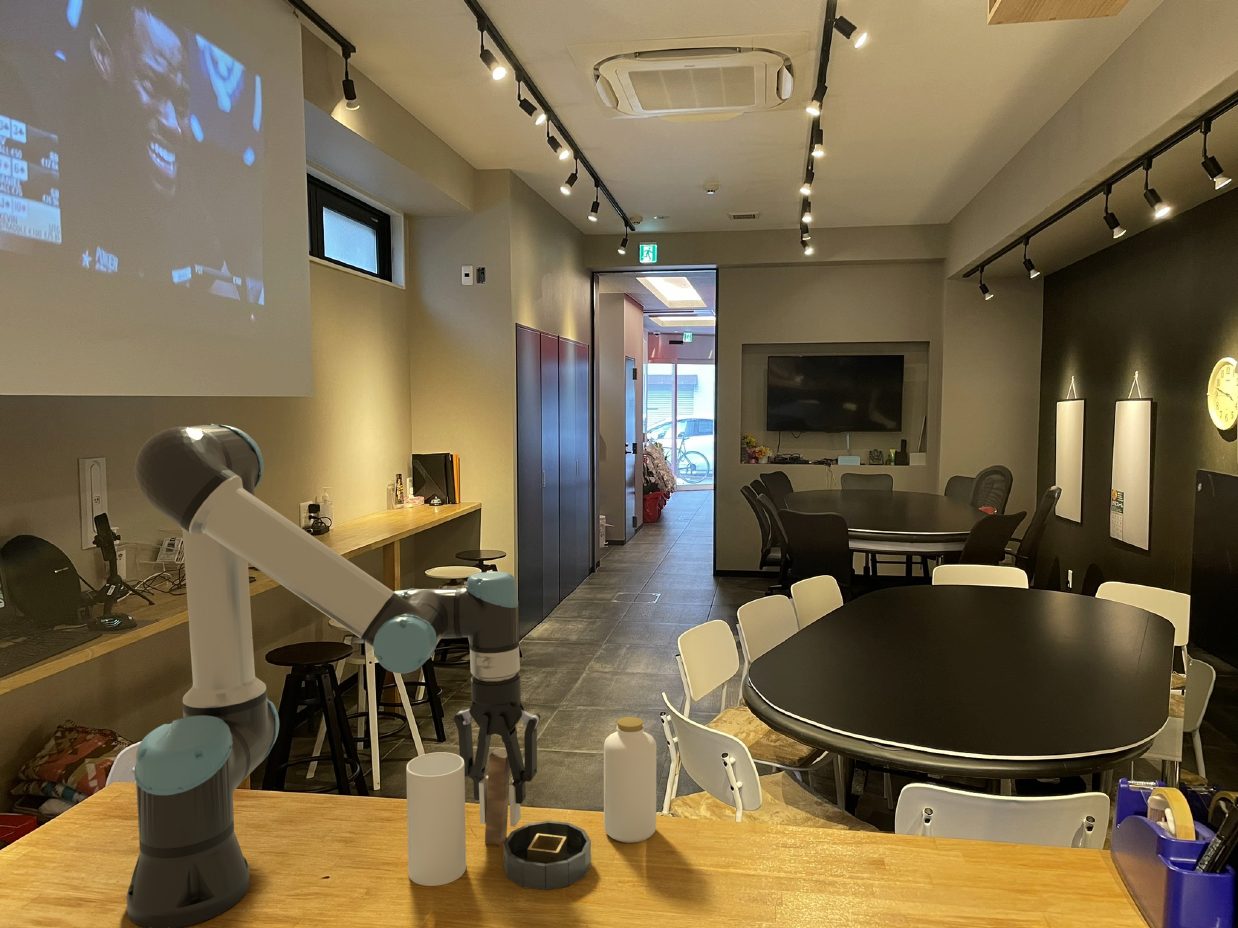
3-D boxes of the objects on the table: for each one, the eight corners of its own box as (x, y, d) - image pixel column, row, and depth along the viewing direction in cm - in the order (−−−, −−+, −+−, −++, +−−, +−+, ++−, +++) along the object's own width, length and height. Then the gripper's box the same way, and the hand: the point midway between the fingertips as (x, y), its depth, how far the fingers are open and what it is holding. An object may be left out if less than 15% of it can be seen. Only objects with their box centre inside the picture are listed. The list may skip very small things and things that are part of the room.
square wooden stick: (484, 842, 131) (489, 755, 130) (490, 834, 134) (495, 748, 132) (500, 845, 130) (505, 758, 129) (506, 837, 133) (511, 751, 132)
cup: (452, 888, 119) (451, 778, 118) (398, 882, 121) (396, 773, 119) (474, 857, 127) (472, 754, 126) (423, 852, 129) (421, 749, 127)
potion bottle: (665, 827, 136) (666, 718, 134) (638, 851, 129) (639, 736, 127) (621, 814, 140) (621, 708, 139) (593, 835, 133) (593, 724, 132)
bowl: (492, 883, 120) (492, 859, 120) (521, 838, 132) (520, 817, 132) (577, 893, 118) (577, 869, 117) (598, 847, 130) (598, 825, 129)
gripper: (432, 678, 128) (438, 827, 130) (541, 684, 124) (546, 837, 126) (452, 663, 135) (458, 804, 137) (556, 668, 132) (560, 813, 133)
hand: (500, 820), depth 132 cm, fingers open, 4 cm apart
